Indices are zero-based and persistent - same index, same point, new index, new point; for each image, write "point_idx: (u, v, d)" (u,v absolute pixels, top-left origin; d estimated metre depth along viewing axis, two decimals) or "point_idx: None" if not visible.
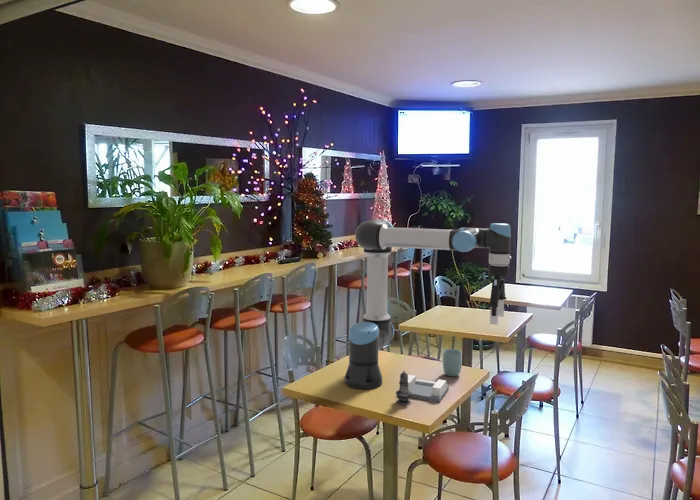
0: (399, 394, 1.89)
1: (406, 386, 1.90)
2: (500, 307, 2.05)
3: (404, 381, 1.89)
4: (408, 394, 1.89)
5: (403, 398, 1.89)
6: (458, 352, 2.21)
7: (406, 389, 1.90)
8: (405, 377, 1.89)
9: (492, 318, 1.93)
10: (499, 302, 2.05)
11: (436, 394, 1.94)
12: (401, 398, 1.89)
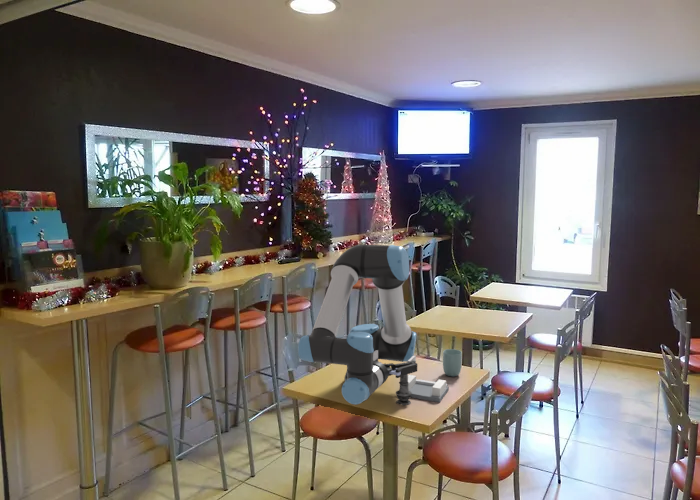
0: (399, 394, 1.89)
1: (406, 386, 1.90)
2: None
3: (404, 381, 1.89)
4: (408, 394, 1.89)
5: (403, 398, 1.89)
6: (458, 352, 2.21)
7: (406, 389, 1.90)
8: (405, 377, 1.89)
9: None
10: None
11: (436, 394, 1.94)
12: (401, 398, 1.89)
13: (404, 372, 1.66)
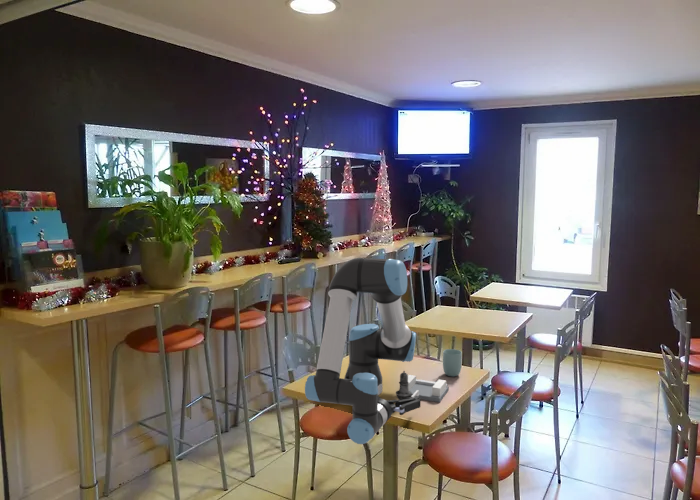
0: (399, 394, 1.89)
1: (406, 386, 1.90)
2: None
3: (404, 381, 1.89)
4: (408, 394, 1.89)
5: (403, 398, 1.89)
6: (458, 352, 2.21)
7: (406, 389, 1.90)
8: (405, 377, 1.89)
9: None
10: None
11: (436, 394, 1.94)
12: (401, 398, 1.89)
13: (408, 409, 1.71)
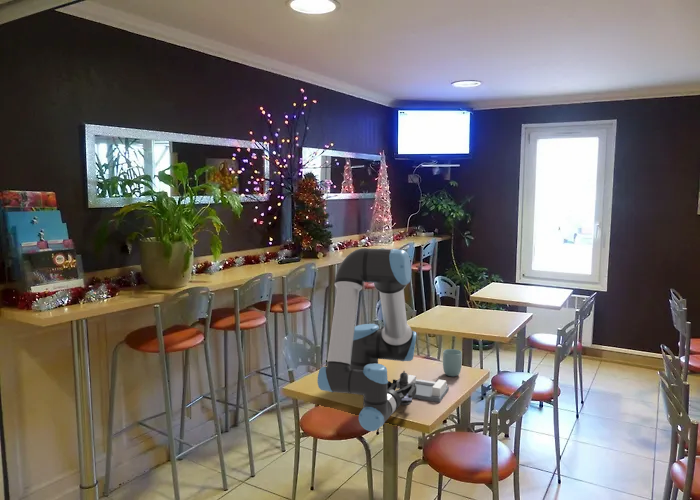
0: None
1: None
2: None
3: (404, 381, 1.89)
4: None
5: None
6: (458, 352, 2.21)
7: None
8: (405, 377, 1.89)
9: None
10: None
11: (436, 394, 1.94)
12: None
13: (412, 396, 1.82)
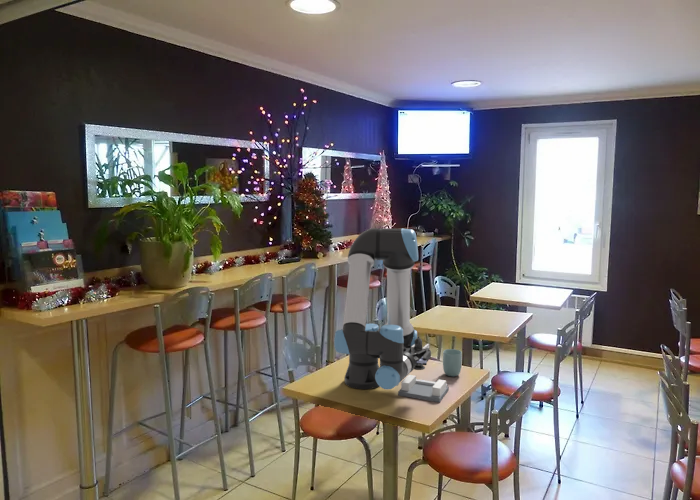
0: None
1: None
2: None
3: (418, 346, 1.93)
4: None
5: None
6: (458, 352, 2.21)
7: None
8: (419, 343, 1.93)
9: None
10: None
11: (436, 394, 1.94)
12: None
13: (427, 359, 1.85)
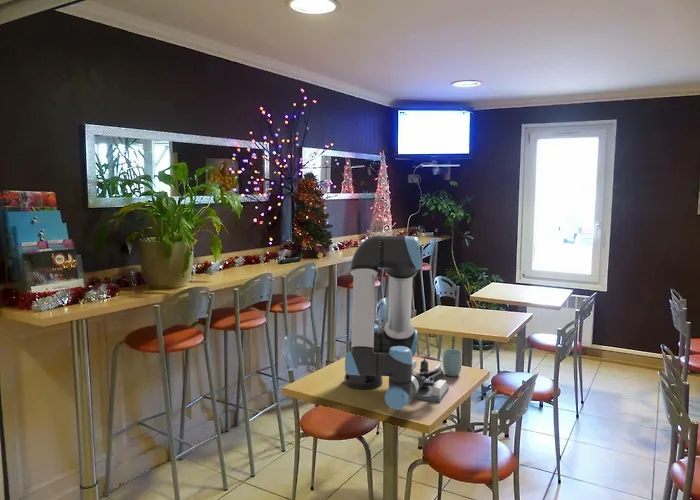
0: None
1: None
2: None
3: (424, 368, 1.98)
4: None
5: (423, 384, 1.98)
6: (458, 352, 2.21)
7: None
8: (426, 365, 1.98)
9: None
10: None
11: (436, 394, 1.94)
12: None
13: (435, 379, 1.89)
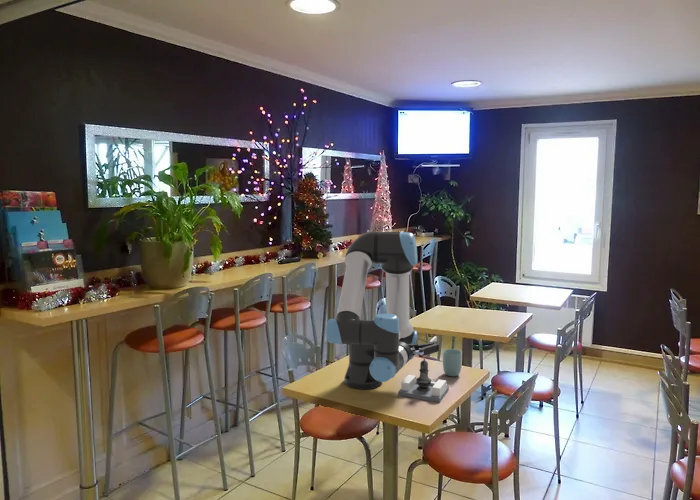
0: (420, 381, 1.98)
1: (426, 374, 1.99)
2: None
3: (424, 368, 1.98)
4: (428, 381, 1.98)
5: (423, 385, 1.98)
6: (458, 352, 2.21)
7: (426, 376, 1.99)
8: (425, 365, 1.98)
9: None
10: None
11: (436, 394, 1.94)
12: (422, 385, 1.98)
13: (427, 352, 1.74)
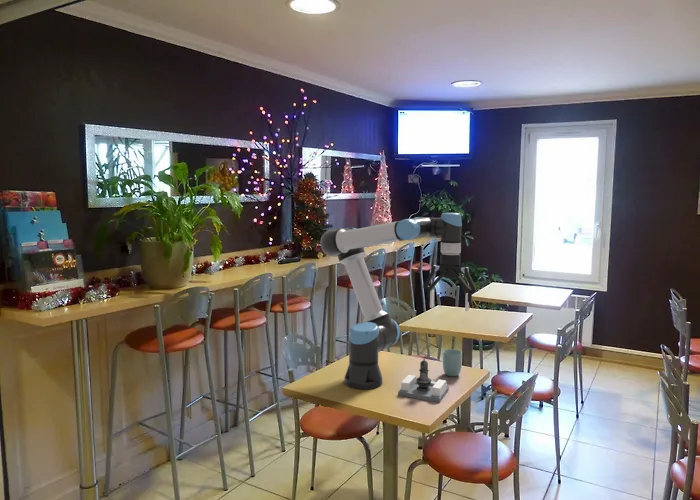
0: (420, 381, 1.98)
1: (426, 374, 1.99)
2: None
3: (424, 368, 1.98)
4: (428, 381, 1.98)
5: (424, 385, 1.98)
6: (458, 352, 2.21)
7: (426, 376, 1.99)
8: (425, 365, 1.98)
9: None
10: None
11: (436, 394, 1.94)
12: (422, 385, 1.98)
13: (469, 277, 1.97)
